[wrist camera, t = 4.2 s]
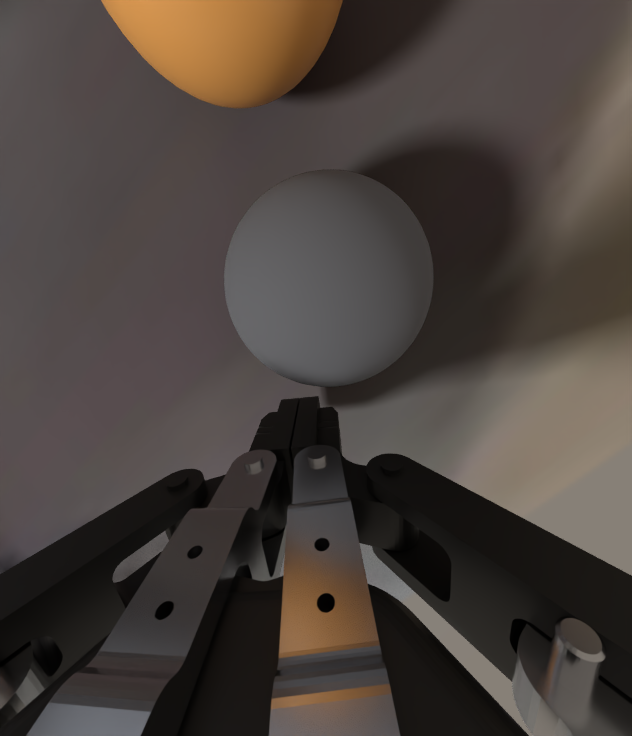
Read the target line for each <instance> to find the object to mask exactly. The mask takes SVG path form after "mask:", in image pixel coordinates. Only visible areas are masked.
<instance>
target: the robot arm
mask: <svg viewBox="0 0 632 736" xmlns="http://www.w3.org/2000/svg"><path fill="white" fill-rule="evenodd" d="M163 531H166V534H167V537H168V539H169V542H168V543H167V545H166V546H165V548H164V549H163V551H162V552H160V553H159V554H158V555H156V556H155V557H154V558H152V559H151V560H150V561H148V562H147V563H146V564H144V565H143V566H142V567H141V568H139V569H138V570H137V571H135V572H134V573H133V574H131V575H130V576H129V577H127V578H126V579H124V580H122V581H120V582H117V583H113V581H112V577H113V573H114V571H115V569H116V567H117V566H118V565H119V564H120V563H121V562H122V561H123V560H124V559H126V558H127V557H128V556H130V555H131V554H133V553H134V552H135V551H137V550H138V549H140V548H141V547H142V546H144V545H145V544H147V543H148V542H149V541H151V540H152V539H154V538H155V537H156V536H158V535H159V534H161V533H162V532H163ZM359 543H362V544H366V545H371V546H372V548H373V551H374V553H375V554H376V556H377V557H378V558H379V559H380V560H381V561H382V562H383V563H384V564H385V565H386V566H387V567H389V568H390V569H391V570H392V571H393V572H394V573H395V574H396V575H397V576H398V577H399V578H400V579H401V580H403V581H404V582H405V583H406V584H407V585H408V586H409V587H410V588H411V589H412V590H413V591H414V592H416V593H417V594H418V595H419V596H420V597H421V598H422V599H423V600H424V601H425V602H426V603H427V604H429V605H430V606H431V607H432V608H433V609H434V610H435V611H436V612H437V613H438V614H439V615H440V616H442V617H443V618H444V619H445V620H446V621H447V622H448V623H449V624H450V625H451V626H452V627H453V628H454V629H456V630H457V631H458V632H459V633H460V634H461V635H462V636H463V637H464V638H465V639H467V641H469V642H470V643H471V644H472V645H473V646H474V647H475V648H476V649H477V650H478V651H479V652H480V653H482V654H483V655H484V656H485V657H486V658H487V659H488V660H489V661H490V662H491V663H492V664H493V665H494V666H495V667H497V668H498V669H499V670H500V671H501V672H502V673H503V674H504V675H505V676H506V677H508V679H510V680H511V681H512V689H513V695H514V699H515V703H516V706H517V708H518V711H519V713H520V715H521V717H522V719H523V721H524V723H525V724H526V726H527V728H528V729H529V730H530V732H531V733H532V735H533V736H632V576H631V575H629V574H627V573H625V572H623V571H622V570H620V569H618V568H616V567H614V566H612V565H610V564H608V563H606V562H605V561H603V560H601V559H599V558H597V557H595V556H593V555H591V554H589V553H587V552H586V551H584V550H582V549H580V548H578V547H576V546H574V545H572V544H571V543H569V542H567V541H565V540H563V539H561V538H559V537H557V536H555V535H554V534H552V533H550V532H548V531H546V530H544V529H542V528H540V527H538V526H537V525H535V524H533V523H531V522H529V521H527V520H525V519H523V518H521V517H519V516H518V515H516V514H514V513H512V512H510V511H508V510H506V509H504V508H502V507H501V506H499V505H497V504H495V503H493V502H491V501H489V500H487V499H485V498H484V497H482V496H480V495H478V494H476V493H474V492H472V491H470V490H468V489H466V488H465V487H463V486H461V485H459V484H457V483H455V482H453V481H451V480H449V479H448V478H446V477H444V476H442V475H440V474H438V473H436V472H434V471H432V470H431V469H429V468H427V467H425V466H423V465H421V464H419V463H417V462H415V461H413V460H412V459H410V458H408V457H405V456H403V455H399V454H382V455H378V456H376V457H374V458H372V459H371V460H370V461H369V462H368V464H367V466H364V465H358V464H355V463H352V462H350V461H348V460H346V459H345V458H344V457H343V456H342V449H341V439H340V429H339V420H338V412H337V411H336V410H335V409H334V408H333V407H325V408H320V403H319V397H318V396H315V397H304V398H294V399H284V400H281V402H280V405H279V408H278V412H271V413H268V414H267V415H266V416H265V417H264V418H263V419H262V420H261V423H260V425H259V428H258V430H257V433H256V435H255V438H254V440H253V443H252V445H251V448H250V450H249V452H247V453H244V454H242V455H241V456H239V457H238V458H237V459H236V460H235V461H234V462H233V463H232V465H231V467H230V468H229V470H228V472H227V474H226V475H223V476H220V477H216V478H213V479H209V480H206V481H205V480H204V476H203V474H202V472H201V471H199V470H196V469H185V470H180V471H177V472H175V473H172V474H170V475H168V476H167V477H165V478H163V479H161V480H160V481H158V482H156V483H155V484H153V485H151V486H150V487H148V488H146V489H144V490H143V491H141V492H139V493H138V494H136V495H134V496H133V497H131V498H129V499H127V500H126V501H124V502H122V503H121V504H119V505H117V506H116V507H114V508H112V509H110V510H109V511H107V512H105V513H104V514H102V515H100V516H99V517H97V518H95V519H94V520H92V521H90V522H88V523H87V524H85V525H83V526H82V527H80V528H78V529H77V530H75V531H73V532H71V533H70V534H68V535H66V536H65V537H63V538H61V539H60V540H58V541H56V542H54V543H53V544H51V545H49V546H48V547H46V548H44V549H43V550H41V551H39V552H37V553H36V554H34V555H32V556H31V557H29V558H27V559H26V560H24V561H22V562H20V563H19V564H17V565H15V566H14V567H12V568H10V569H9V570H7V571H5V572H3V573H2V574H0V736H529V735H528V734H527V733H526V732H525V731H524V730H523V729H522V728H521V727H520V726H519V725H518V724H517V723H516V722H515V721H514V719H513V718H512V717H511V716H510V715H509V714H508V713H507V712H506V711H505V710H504V709H503V708H502V707H501V706H500V705H499V703H498V702H497V701H496V700H494V698H493V697H492V696H491V695H490V694H489V693H488V692H487V691H486V690H485V689H484V688H483V687H482V686H481V685H480V683H479V682H478V681H477V680H476V679H475V678H474V677H473V676H472V675H471V674H470V673H469V672H468V671H467V670H466V669H465V668H464V666H463V665H462V664H461V663H460V662H459V661H458V660H457V659H456V658H455V657H454V656H453V655H452V654H451V653H450V652H449V651H448V650H447V649H446V647H445V646H444V645H443V644H442V643H441V642H440V641H439V640H438V639H437V638H436V637H435V636H434V635H433V634H432V633H431V632H430V630H429V629H428V628H427V627H426V626H425V625H424V624H423V623H422V622H421V621H420V620H419V619H418V618H417V617H416V616H415V615H414V614H413V613H412V612H411V611H410V610H409V609H408V608H407V607H406V606H405V605H404V604H402V603H401V602H400V601H399V600H397V599H396V598H394V597H393V596H391V595H390V594H388V593H387V592H385V591H383V590H381V589H379V588H377V587H375V586H372V585H370V584H367V579H366V574H365V569H364V564H363V559H362V554H361V549H360V544H359ZM284 554H285V561H284V576H282V577H279V576H280V572H281V567H282V563H283V558H284Z"/></svg>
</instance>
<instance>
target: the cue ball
mask: <svg viewBox="0 0 632 736" xmlns="http://www.w3.org/2000/svg"><path fill="white" fill-rule="evenodd" d="M433 281H434V275H433V262H432V256H431V251H430V246H429V243H428V241H427V238H426V235H425V233H424V231H423V228H422V226H421V224H420V223H419V221H418V219H417V218H416V216H415V215H414V213H413V212H412V211H411V209H410V208H409V206H408V205H407V204H406V203H405V202H404V201H403V200H402V199H401V198H400V197H399V196H398V195H396V194H395V193H394V192H393V191H392V190H390V189H389V188H387V187H386V186H385V185H383V184H381V183H379V182H377V181H375V180H373V179H371V178H369V177H367V176H364V175H361V174H358V173H355V172H351V171H344V170H317V171H310V172H306V173H302V174H299V175H295V176H293V177H291V178H289V179H286V180H284V181H282V182H281V183H279V184H277V185H276V186H274V187H272V188H271V189H269V190H268V191H267V192H266V193H264V194H263V195H262V196H261V197H259V198H258V199H257V200H256V201H255V202H254V204H253V205H252V206H251V207H250V208H249V209H248V211H247V212H246V214H245V215H244V216H243V218H242V219H241V221H240V223H239V224H238V226H237V228H236V230H235V232H234V234H233V236H232V239H231V243H230V246H229V249H228V253H227V256H226V263H225V272H224V287H225V297H226V302H227V306H228V310H229V313H230V316H231V319H232V322H233V324H234V326H235V328H236V330H237V332H238V334H239V336H240V337H241V339H242V340H243V342H244V343H245V345H246V346H247V347H248V348H249V350H250V351H251V352H252V353H253V354H254V355H255V356H256V357H257V358H258V359H259V360H260V361H261V362H262V363H263V364H264V365H266V366H267V367H269V368H270V369H272V370H273V371H275V372H276V373H278V374H280V375H282V376H283V377H286V378H288V379H291V380H293V381H296V382H299V383H302V384H307V385H313V386H321V387H335V386H343V385H348V384H353V383H356V382H360V381H363V380H365V379H368V378H370V377H372V376H374V375H376V374H378V373H380V372H382V371H383V370H385V369H386V368H387V367H389V366H390V365H391V364H393V363H394V362H395V361H396V360H397V359H399V358H400V357H401V356H402V355H403V354H404V352H405V351H406V350H407V349H408V348H409V346H410V345H411V344H412V343H413V341H414V340H415V338H416V337H417V335H418V333H419V331H420V329H421V328H422V326H423V324H424V321H425V319H426V316H427V313H428V310H429V307H430V303H431V299H432V292H433Z"/></svg>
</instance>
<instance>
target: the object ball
mask: <svg viewBox="0 0 632 736" xmlns="http://www.w3.org/2000/svg"><path fill="white" fill-rule="evenodd" d="M101 1H102V3H103V4H104V6H105V8H106V9H107V11H108V13H109V14H110V15H111V17H112V18H113V20H114V21H115V23H116V24H117V25H118V27H119V28H120V30H121V31H122V33H123V34H124V35H125V36H126V38H127V39H128V40H129V41H130V43H131V44H132V45H133V46H134V47H135V49H136V50H137V51H138V52H139V53H140V54H141V56H142V57H143V58H144V59H145V60H146V61H147V62H148V63H149V64H150V65H151V66H152V67H153V68H154V69H155V70H156V71H158V72H159V73H160V74H161V75H162V76H164V77H165V78H166V79H167V80H169V81H170V82H171V83H173V84H174V85H175V86H177V87H178V88H180V89H182V90H183V91H185V92H187V93H189V94H190V95H192V96H194V97H195V98H198V99H200V100H203V101H205V102H208V103H211V104H214V105H217V106H222V107H229V108H251V107H257V106H261V105H264V104H267V103H270V102H272V101H274V100H276V99H278V98H280V97H281V96H283V95H284V94H286V93H287V92H289V91H290V90H291V89H293V88H294V87H295V86H296V85H297V84H298V83H299V82H300V81H301V80H302V79H303V78H304V77H305V76H306V75H307V74H308V72H309V71H310V70H311V69H312V67H313V66H314V65H315V63H316V62H317V60H318V58H319V57H320V55H321V53H322V52H323V50H324V48H325V46H326V44H327V42H328V40H329V38H330V36H331V33H332V31H333V29H334V27H335V24H336V21H337V17H338V14H339V11H340V8H341V5H342V2H343V0H101Z"/></svg>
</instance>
